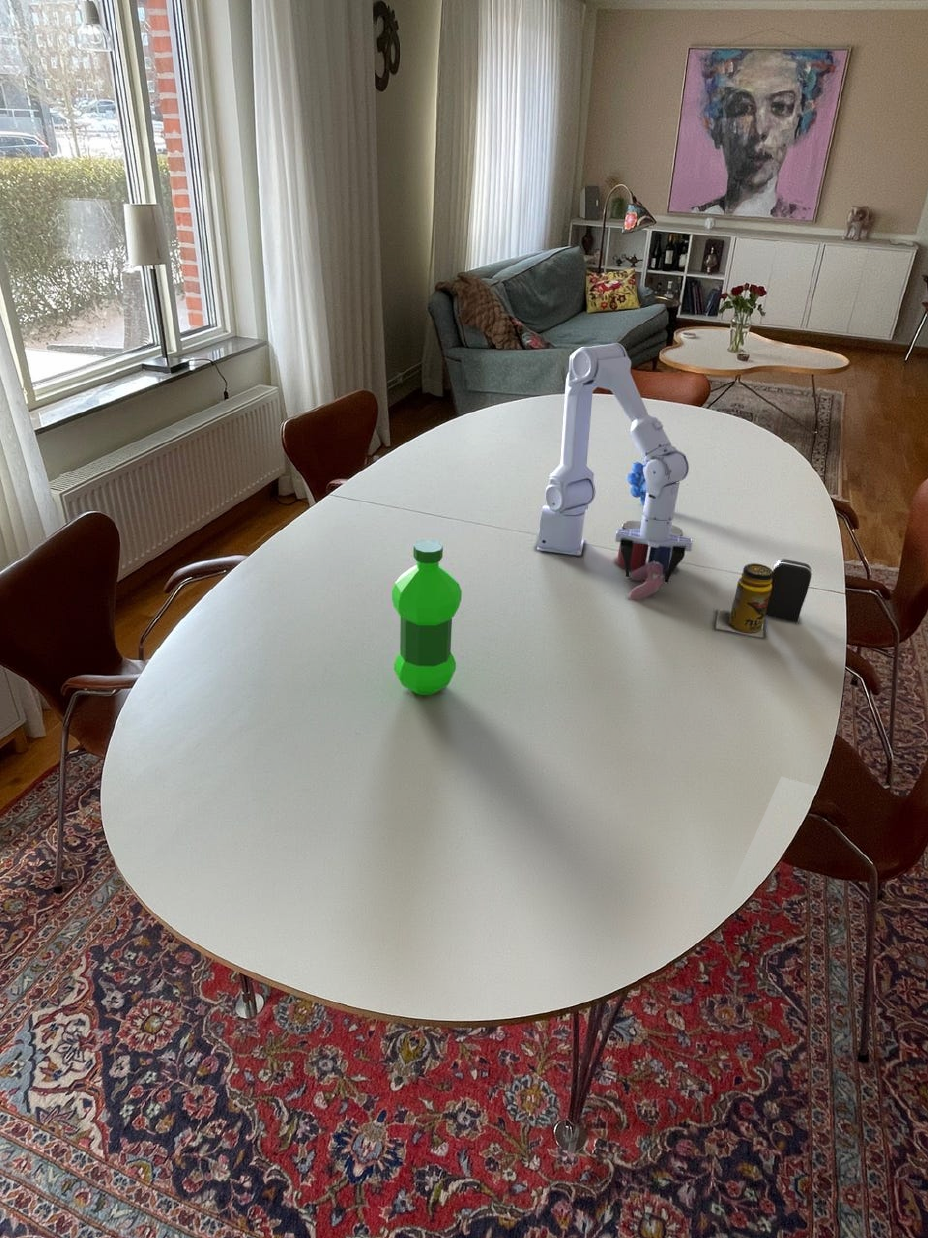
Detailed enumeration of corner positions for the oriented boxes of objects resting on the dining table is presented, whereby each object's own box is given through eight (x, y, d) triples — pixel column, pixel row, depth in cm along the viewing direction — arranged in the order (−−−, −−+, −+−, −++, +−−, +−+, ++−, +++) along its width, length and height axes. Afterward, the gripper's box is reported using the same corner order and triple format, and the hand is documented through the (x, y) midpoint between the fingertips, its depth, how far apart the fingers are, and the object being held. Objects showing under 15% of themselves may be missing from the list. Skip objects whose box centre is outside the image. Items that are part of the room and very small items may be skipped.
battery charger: (799, 615, 161) (814, 562, 155) (798, 624, 158) (814, 570, 152) (762, 606, 163) (776, 554, 158) (760, 615, 160) (774, 562, 155)
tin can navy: (646, 572, 174) (653, 534, 170) (647, 559, 179) (654, 522, 175) (675, 576, 173) (683, 537, 169) (675, 563, 178) (683, 526, 174)
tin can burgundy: (616, 567, 175) (621, 530, 171) (617, 555, 180) (623, 518, 176) (644, 571, 174) (651, 533, 170) (645, 559, 179) (652, 522, 175)
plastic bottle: (434, 712, 129) (439, 568, 116) (379, 689, 133) (378, 548, 121) (468, 682, 136) (476, 543, 124) (415, 661, 141) (418, 525, 128)
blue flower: (619, 507, 204) (626, 461, 198) (625, 498, 210) (632, 452, 203) (666, 516, 201) (675, 469, 194) (671, 507, 206) (680, 460, 200)
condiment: (762, 638, 153) (778, 580, 147) (715, 629, 155) (729, 572, 149) (763, 619, 159) (778, 563, 153) (717, 611, 161) (730, 555, 155)
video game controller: (647, 609, 164) (668, 583, 160) (627, 597, 163) (649, 571, 159) (647, 586, 172) (668, 561, 168) (629, 575, 172) (649, 549, 168)
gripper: (618, 517, 157) (608, 581, 163) (697, 527, 154) (684, 592, 161) (620, 503, 163) (611, 566, 169) (696, 513, 160) (683, 576, 167)
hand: (646, 577), depth 166 cm, fingers open, 7 cm apart
